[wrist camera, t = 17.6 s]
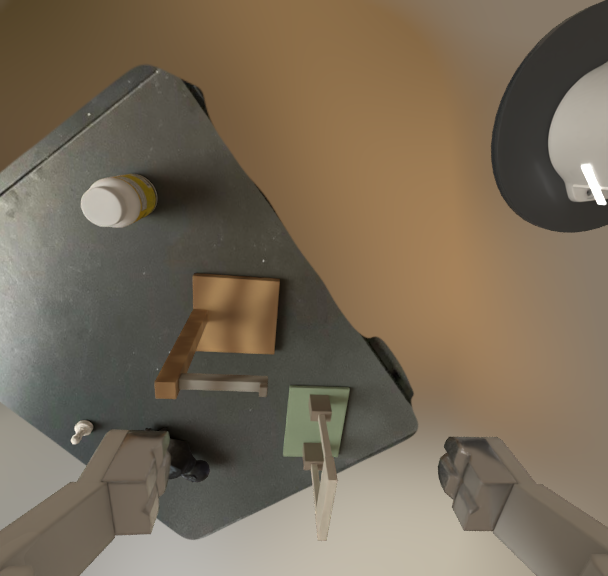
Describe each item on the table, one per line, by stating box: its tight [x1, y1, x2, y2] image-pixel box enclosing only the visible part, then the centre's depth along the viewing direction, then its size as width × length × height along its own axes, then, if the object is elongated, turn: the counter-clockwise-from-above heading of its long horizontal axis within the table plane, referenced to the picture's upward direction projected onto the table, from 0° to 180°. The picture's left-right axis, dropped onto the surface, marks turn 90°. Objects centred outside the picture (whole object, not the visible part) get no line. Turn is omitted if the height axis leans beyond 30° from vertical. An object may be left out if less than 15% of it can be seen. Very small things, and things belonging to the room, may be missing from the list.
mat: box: [283, 385, 350, 457], centre depth 59 cm, size 10×15×1 cm, turn 174°
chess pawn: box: [71, 420, 93, 444], centre depth 55 cm, size 3×3×4 cm
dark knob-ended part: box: [145, 427, 210, 482], centre depth 57 cm, size 6×13×6 cm, turn 55°
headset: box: [302, 395, 338, 541], centre depth 52 cm, size 3×12×16 cm, turn 174°
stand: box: [155, 273, 280, 399], centre depth 43 cm, size 12×12×18 cm
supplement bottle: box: [81, 174, 157, 228], centre depth 39 cm, size 5×5×10 cm
